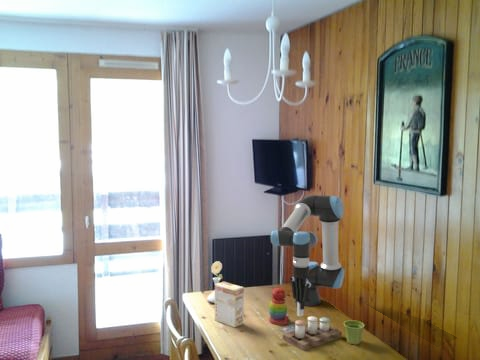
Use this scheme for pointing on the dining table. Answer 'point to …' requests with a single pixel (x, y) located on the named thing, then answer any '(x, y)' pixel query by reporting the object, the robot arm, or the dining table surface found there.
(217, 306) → the coffeecake box
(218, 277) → the flower in vase
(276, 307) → the stacking bear
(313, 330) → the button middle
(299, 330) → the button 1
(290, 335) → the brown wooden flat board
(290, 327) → the card
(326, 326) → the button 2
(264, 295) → the dining table surface
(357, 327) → the plant pot
